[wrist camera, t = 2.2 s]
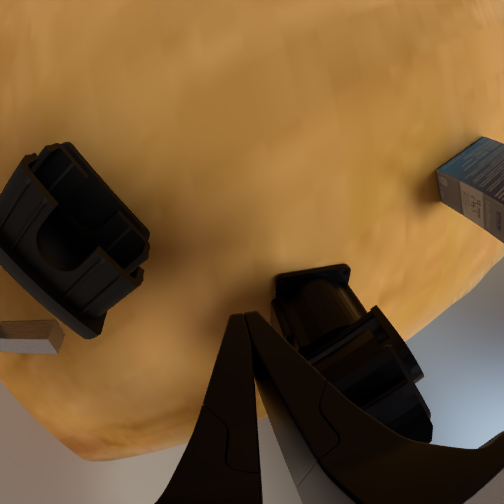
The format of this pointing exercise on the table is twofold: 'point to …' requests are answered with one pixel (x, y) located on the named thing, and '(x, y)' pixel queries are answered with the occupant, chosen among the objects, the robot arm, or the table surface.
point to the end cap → (70, 238)
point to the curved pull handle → (31, 337)
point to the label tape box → (476, 185)
